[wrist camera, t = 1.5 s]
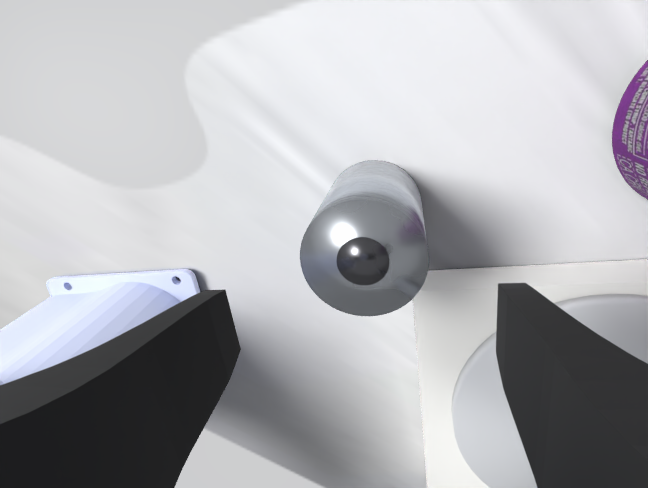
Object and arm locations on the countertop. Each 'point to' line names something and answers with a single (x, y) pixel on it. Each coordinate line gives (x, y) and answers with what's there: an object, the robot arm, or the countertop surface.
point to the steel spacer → (367, 241)
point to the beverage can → (633, 133)
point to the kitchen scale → (482, 366)
